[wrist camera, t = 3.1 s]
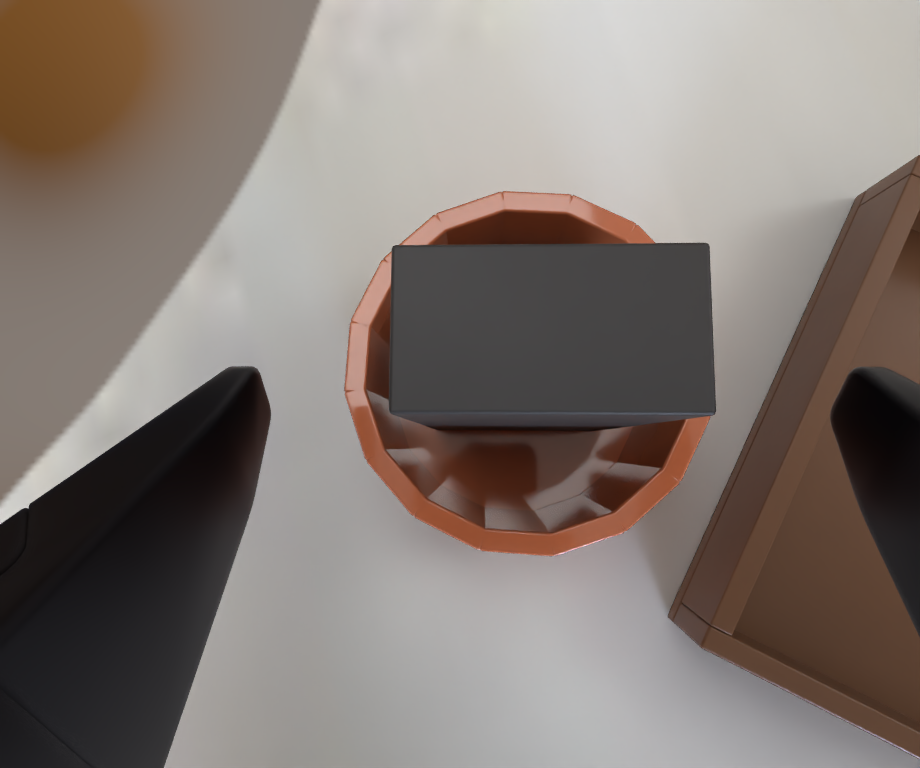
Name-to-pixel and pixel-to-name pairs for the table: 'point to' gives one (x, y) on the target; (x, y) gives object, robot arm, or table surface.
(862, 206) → the tray
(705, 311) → the dark grey block
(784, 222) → the table surface
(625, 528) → the holder cup
